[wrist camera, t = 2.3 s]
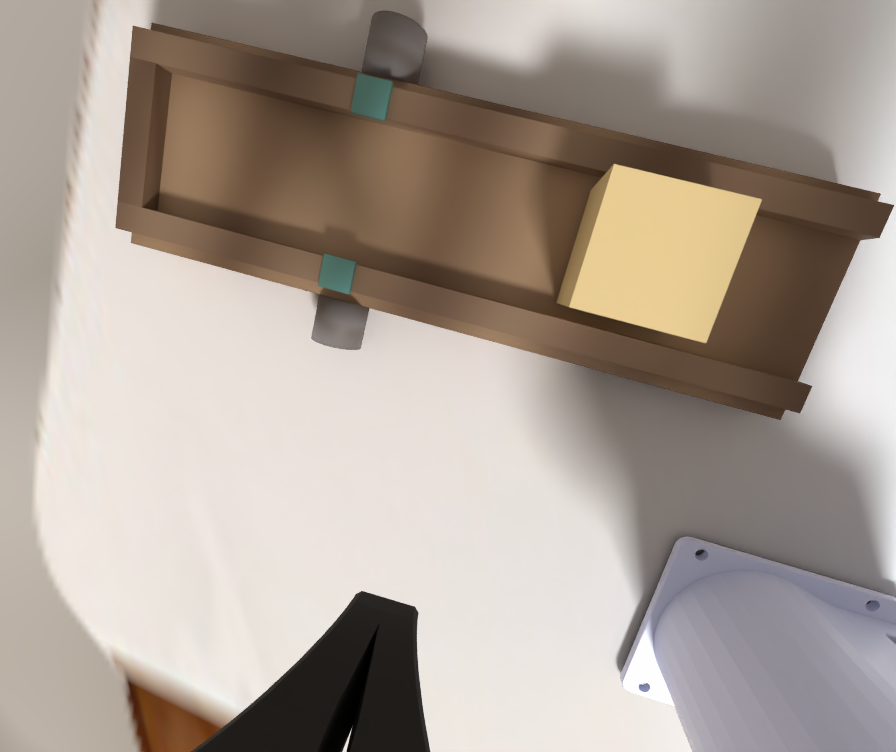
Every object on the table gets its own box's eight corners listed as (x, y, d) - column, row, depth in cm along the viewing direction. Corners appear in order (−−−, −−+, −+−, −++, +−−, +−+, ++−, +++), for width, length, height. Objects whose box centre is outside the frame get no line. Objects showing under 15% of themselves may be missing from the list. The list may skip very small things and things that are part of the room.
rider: (705, 218, 15) (762, 199, 12) (664, 331, 16) (705, 343, 13) (590, 190, 16) (613, 163, 12) (556, 302, 17) (568, 307, 13)
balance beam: (869, 149, 16) (935, 124, 13) (740, 450, 18) (776, 475, 16) (185, -8, 18) (134, -54, 15) (154, 286, 20) (105, 286, 18)
